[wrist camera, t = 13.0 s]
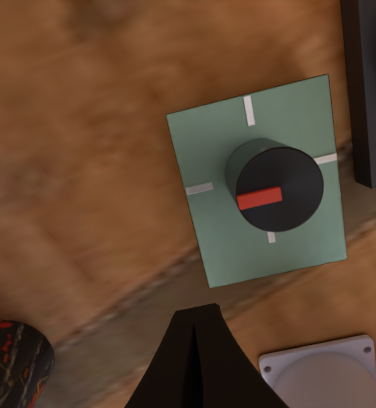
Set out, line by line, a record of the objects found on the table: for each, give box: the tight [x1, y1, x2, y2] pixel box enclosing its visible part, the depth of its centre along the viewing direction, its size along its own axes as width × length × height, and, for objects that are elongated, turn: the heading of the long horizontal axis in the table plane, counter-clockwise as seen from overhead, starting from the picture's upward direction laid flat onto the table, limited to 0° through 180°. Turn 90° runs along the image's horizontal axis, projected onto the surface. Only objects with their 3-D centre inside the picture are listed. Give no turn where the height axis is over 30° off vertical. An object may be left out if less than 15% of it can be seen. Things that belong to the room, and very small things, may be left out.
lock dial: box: [225, 139, 324, 232], centre depth 14 cm, size 4×4×4 cm
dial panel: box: [166, 74, 347, 288], centre depth 18 cm, size 10×8×3 cm
